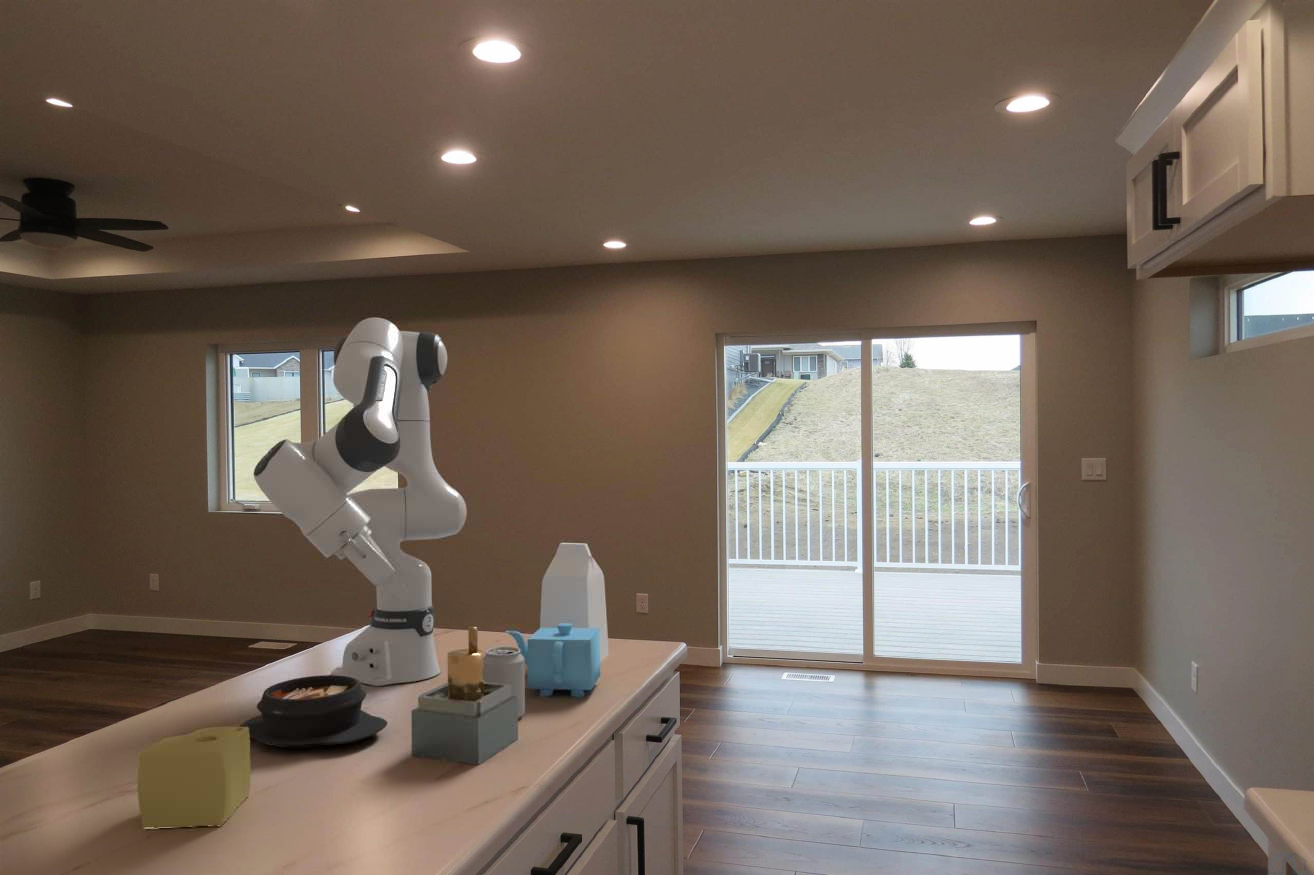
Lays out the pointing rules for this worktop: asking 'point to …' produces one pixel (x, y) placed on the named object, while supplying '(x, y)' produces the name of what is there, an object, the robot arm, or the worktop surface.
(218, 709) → the worktop surface
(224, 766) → the cheese
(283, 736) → the casserole
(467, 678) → the spout can
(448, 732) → the grey square box
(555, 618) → the milk
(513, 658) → the can
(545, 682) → the teapot
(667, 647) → the worktop surface
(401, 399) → the robot arm
